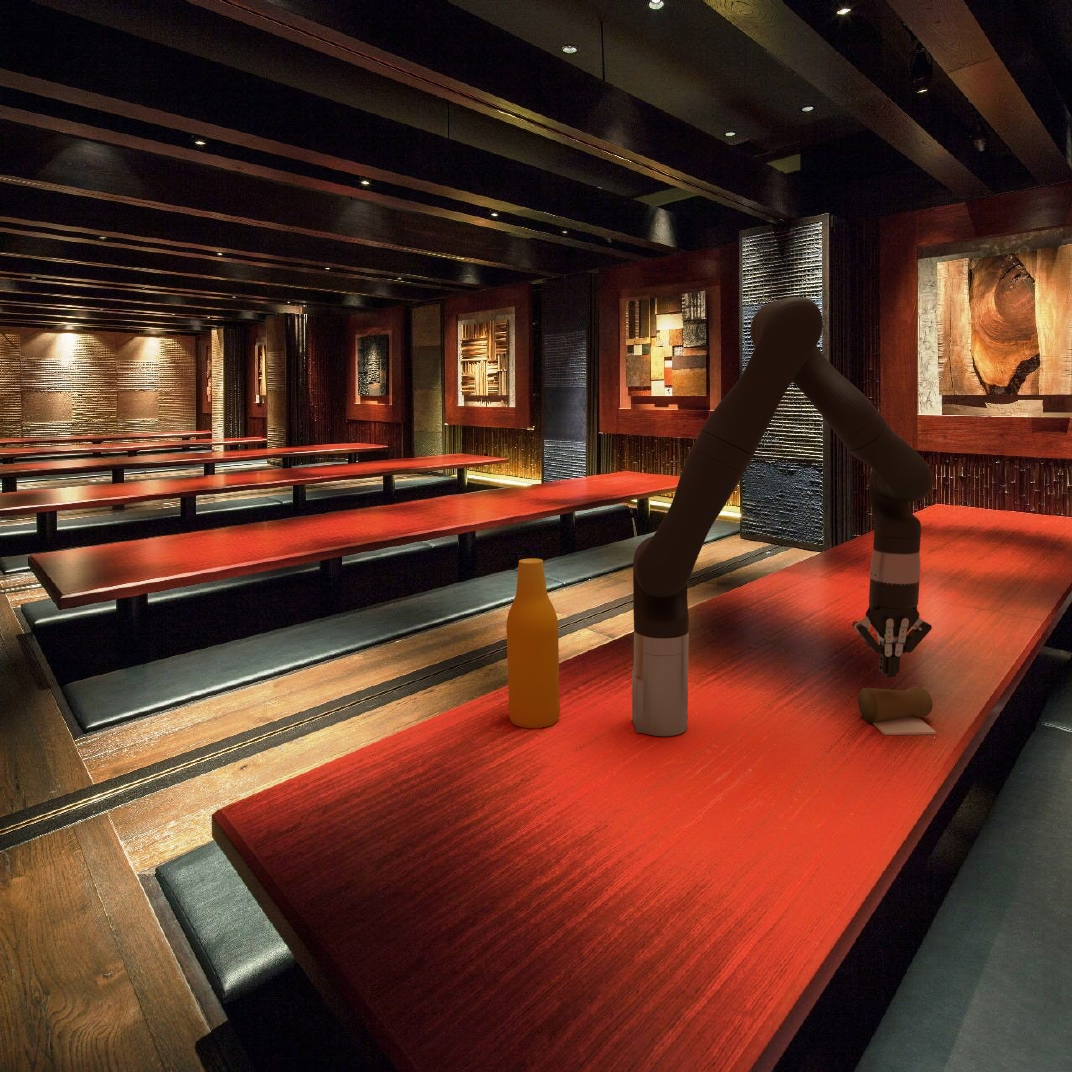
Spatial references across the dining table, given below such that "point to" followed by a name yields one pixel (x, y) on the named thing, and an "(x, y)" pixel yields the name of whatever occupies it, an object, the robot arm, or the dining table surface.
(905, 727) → the mat
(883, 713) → the cork
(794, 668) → the dining table surface
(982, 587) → the dining table surface
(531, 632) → the beer bottle
